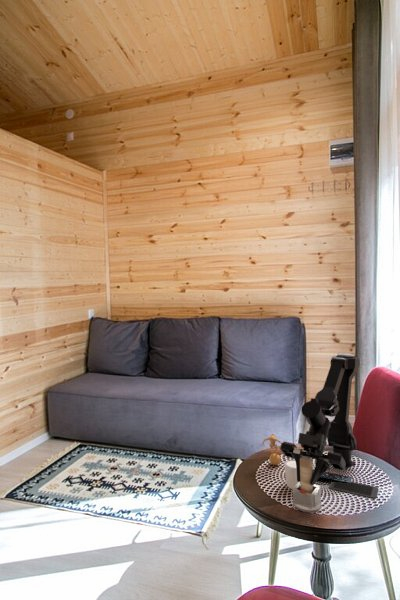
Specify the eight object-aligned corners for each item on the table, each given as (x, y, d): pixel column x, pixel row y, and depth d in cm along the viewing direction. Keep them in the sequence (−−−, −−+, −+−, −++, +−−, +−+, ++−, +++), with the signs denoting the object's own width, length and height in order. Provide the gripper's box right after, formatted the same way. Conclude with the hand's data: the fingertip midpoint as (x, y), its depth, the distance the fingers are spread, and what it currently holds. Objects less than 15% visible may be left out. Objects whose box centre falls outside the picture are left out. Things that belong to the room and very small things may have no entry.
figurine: (287, 464, 147) (287, 431, 146) (284, 471, 141) (283, 437, 141) (265, 460, 150) (264, 428, 150) (260, 467, 145) (259, 434, 144)
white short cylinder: (307, 491, 128) (306, 469, 127) (284, 489, 129) (284, 468, 129) (305, 480, 134) (305, 459, 134) (284, 479, 136) (284, 458, 135)
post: (303, 495, 122) (302, 456, 122) (315, 498, 120) (314, 458, 120) (298, 500, 119) (297, 460, 119) (310, 504, 117) (309, 463, 117)
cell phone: (375, 500, 122) (375, 498, 122) (328, 489, 129) (328, 487, 129) (378, 489, 128) (378, 487, 128) (333, 479, 135) (333, 477, 135)
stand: (299, 495, 125) (299, 477, 125) (325, 502, 121) (324, 484, 120) (288, 506, 119) (288, 488, 119) (315, 515, 114) (314, 496, 114)
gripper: (281, 415, 128) (266, 463, 119) (341, 426, 116) (329, 480, 108) (292, 432, 134) (278, 479, 126) (350, 444, 123) (339, 496, 115)
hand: (304, 483), depth 119 cm, fingers closed on post, 4 cm apart
